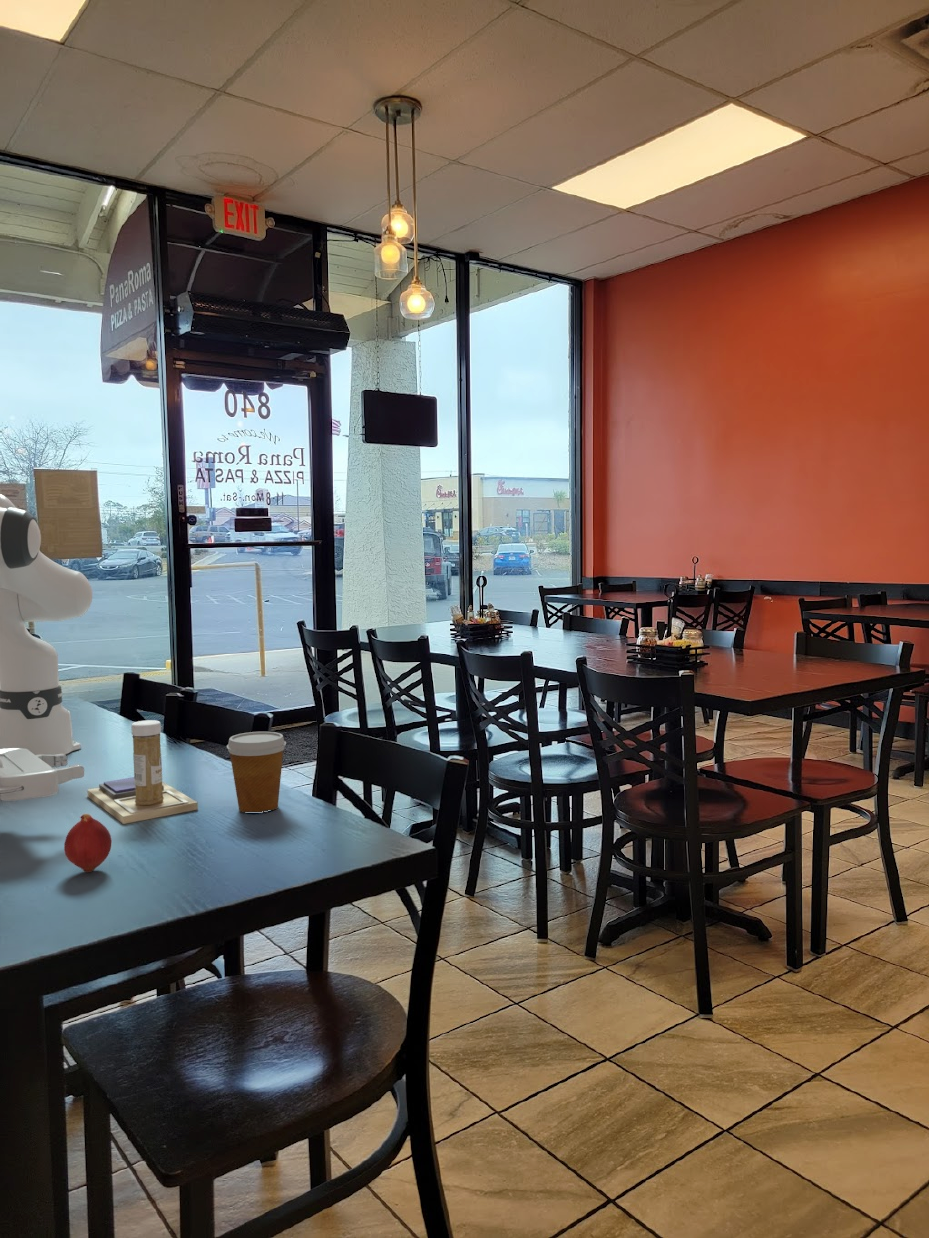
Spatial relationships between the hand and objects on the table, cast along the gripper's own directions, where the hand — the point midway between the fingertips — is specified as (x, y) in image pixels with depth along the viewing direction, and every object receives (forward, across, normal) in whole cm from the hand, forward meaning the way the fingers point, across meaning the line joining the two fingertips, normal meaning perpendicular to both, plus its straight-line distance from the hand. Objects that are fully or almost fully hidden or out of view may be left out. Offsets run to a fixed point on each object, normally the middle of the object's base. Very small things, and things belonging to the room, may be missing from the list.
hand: (74, 764), depth 140 cm
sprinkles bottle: (+11, 0, +8) cm, 14 cm away
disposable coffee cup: (+26, -11, +10) cm, 29 cm away
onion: (-4, -23, +10) cm, 25 cm away
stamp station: (+12, +5, +9) cm, 16 cm away
